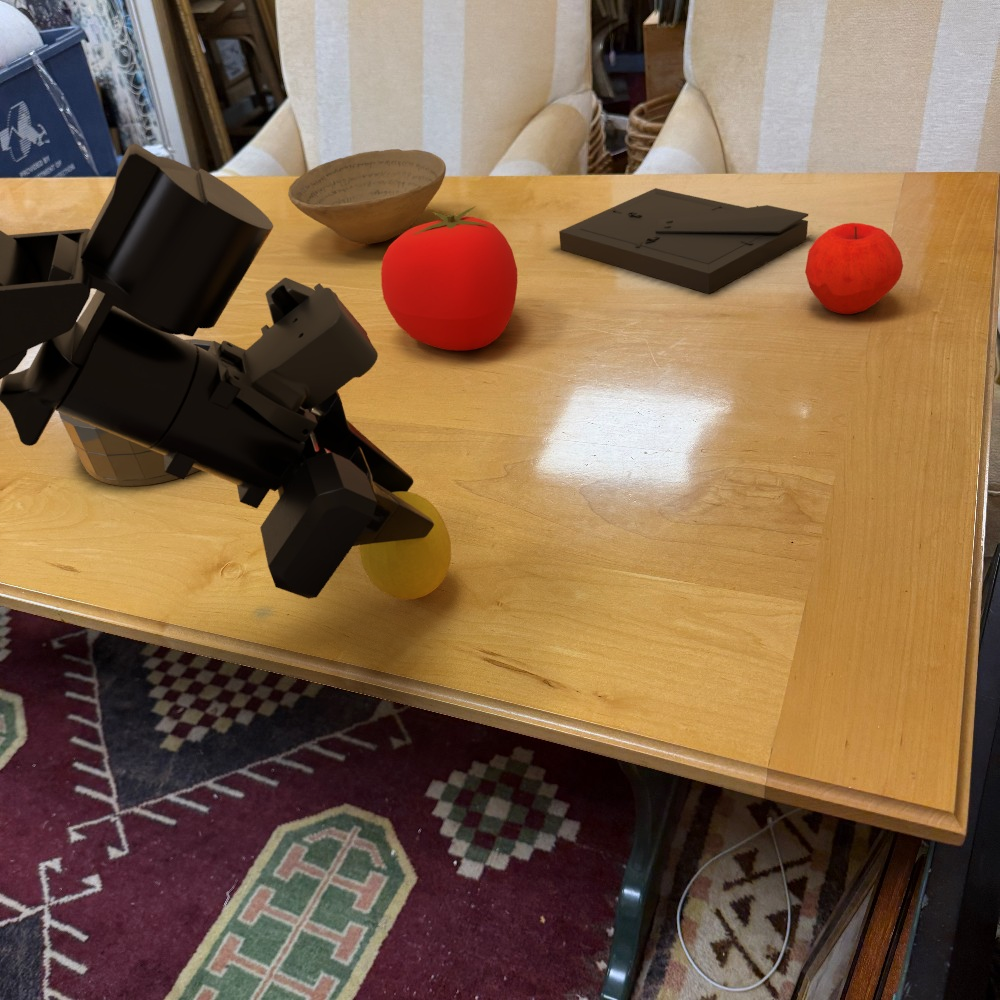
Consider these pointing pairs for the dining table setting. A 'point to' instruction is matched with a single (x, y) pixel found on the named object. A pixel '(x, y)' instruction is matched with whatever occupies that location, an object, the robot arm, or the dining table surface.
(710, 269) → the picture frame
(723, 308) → the dining table surface
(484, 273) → the tomato
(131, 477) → the pot
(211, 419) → the robot arm
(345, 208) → the bowl
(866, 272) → the apple
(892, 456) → the dining table surface
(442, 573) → the lemon
